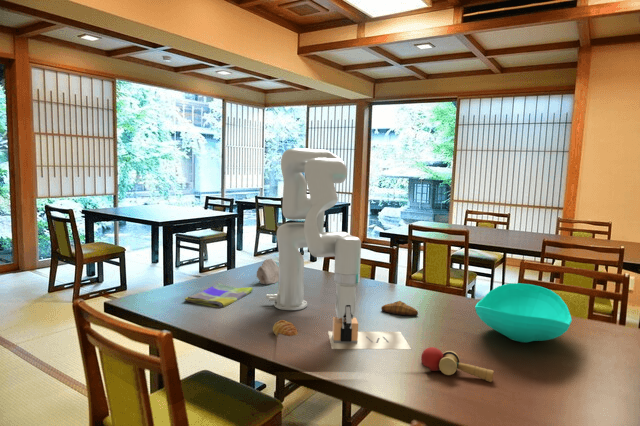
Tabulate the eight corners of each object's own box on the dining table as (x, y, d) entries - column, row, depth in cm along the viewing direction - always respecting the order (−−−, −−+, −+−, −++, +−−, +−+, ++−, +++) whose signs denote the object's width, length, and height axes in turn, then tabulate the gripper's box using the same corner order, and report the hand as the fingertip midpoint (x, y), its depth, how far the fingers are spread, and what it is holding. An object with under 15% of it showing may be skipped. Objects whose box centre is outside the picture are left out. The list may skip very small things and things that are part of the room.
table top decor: (566, 373, 115) (571, 325, 113) (460, 348, 129) (463, 305, 128) (571, 328, 148) (574, 290, 147) (486, 312, 163) (489, 278, 161)
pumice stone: (265, 286, 189) (266, 264, 188) (253, 283, 194) (253, 261, 193) (287, 279, 202) (287, 258, 201) (274, 276, 206) (275, 256, 205)
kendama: (490, 378, 114) (422, 356, 120) (495, 358, 112) (426, 337, 118) (488, 397, 107) (417, 372, 114) (494, 376, 105) (420, 352, 112)
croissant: (379, 314, 158) (379, 301, 157) (383, 308, 164) (383, 296, 164) (416, 319, 153) (417, 306, 153) (419, 313, 160) (419, 300, 159)
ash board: (331, 353, 123) (331, 348, 122) (327, 335, 136) (328, 331, 135) (411, 354, 124) (411, 348, 124) (400, 336, 137) (400, 331, 137)
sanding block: (333, 343, 127) (334, 323, 126) (332, 336, 131) (332, 317, 131) (357, 343, 127) (358, 323, 126) (355, 336, 132) (355, 317, 131)
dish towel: (255, 293, 180) (255, 286, 180) (220, 310, 158) (220, 303, 158) (219, 287, 187) (219, 281, 187) (182, 303, 164) (182, 296, 164)
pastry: (303, 338, 133) (303, 326, 133) (284, 343, 130) (284, 331, 129) (288, 328, 141) (288, 317, 141) (269, 333, 137) (270, 321, 137)
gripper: (331, 270, 135) (329, 326, 137) (337, 285, 119) (334, 349, 120) (355, 271, 136) (353, 326, 138) (364, 286, 119) (361, 349, 121)
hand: (344, 336), depth 129 cm, fingers closed on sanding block, 5 cm apart
